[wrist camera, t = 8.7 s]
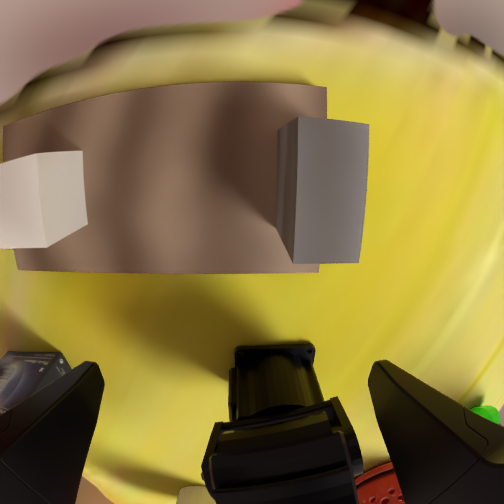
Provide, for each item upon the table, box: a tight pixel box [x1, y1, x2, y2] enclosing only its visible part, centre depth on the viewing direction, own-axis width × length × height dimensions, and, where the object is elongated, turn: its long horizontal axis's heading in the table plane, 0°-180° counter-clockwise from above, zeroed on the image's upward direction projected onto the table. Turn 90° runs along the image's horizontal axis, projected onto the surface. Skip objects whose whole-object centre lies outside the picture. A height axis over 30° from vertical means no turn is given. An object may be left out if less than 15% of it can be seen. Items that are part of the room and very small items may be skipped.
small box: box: [0, 351, 71, 415], centre depth 18 cm, size 11×6×10 cm, turn 101°
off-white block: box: [0, 151, 88, 249], centre depth 14 cm, size 5×5×5 cm
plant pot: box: [355, 462, 405, 504], centre depth 28 cm, size 13×13×12 cm
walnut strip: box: [3, 82, 369, 274], centre depth 14 cm, size 24×12×7 cm, turn 89°
